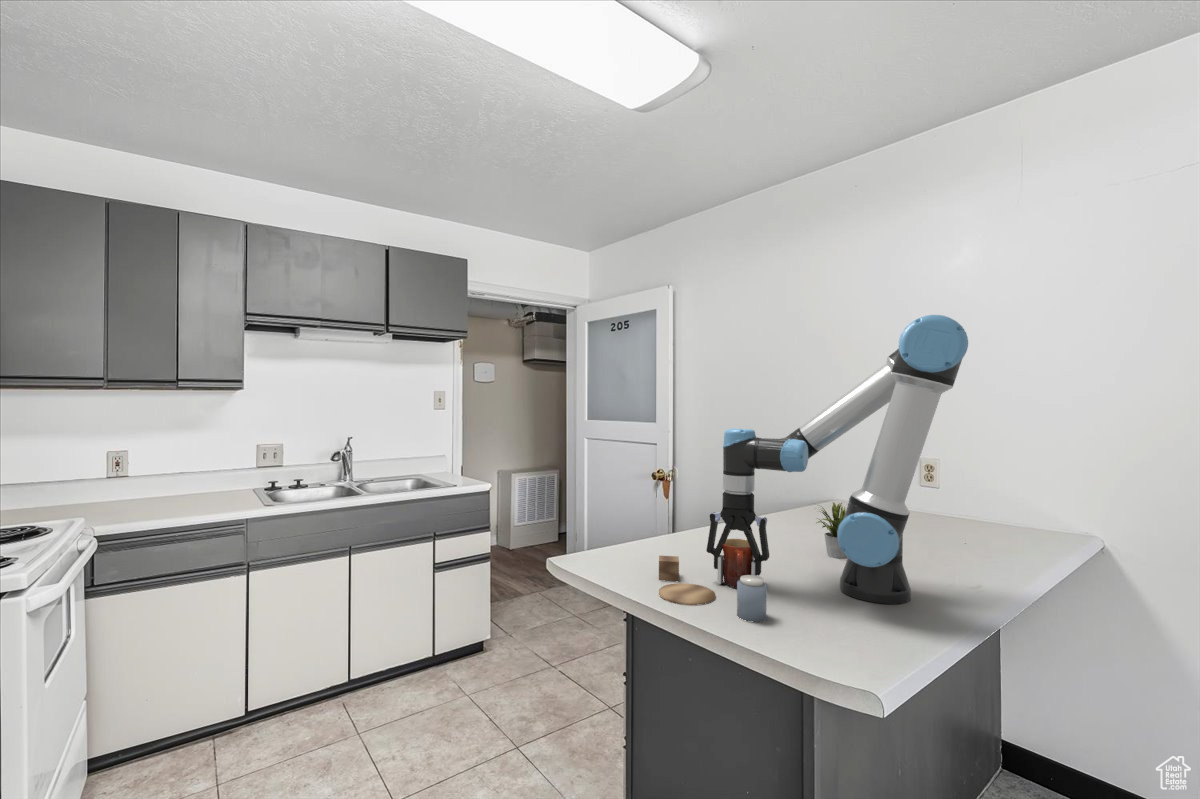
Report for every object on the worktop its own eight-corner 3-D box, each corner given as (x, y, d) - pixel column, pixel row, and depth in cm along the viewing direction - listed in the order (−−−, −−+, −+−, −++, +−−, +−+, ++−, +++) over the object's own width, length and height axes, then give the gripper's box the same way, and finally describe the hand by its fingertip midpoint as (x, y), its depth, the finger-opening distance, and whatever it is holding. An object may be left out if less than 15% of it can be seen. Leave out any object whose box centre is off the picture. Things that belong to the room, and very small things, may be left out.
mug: (720, 577, 142) (720, 537, 142) (755, 580, 141) (755, 539, 141) (720, 593, 131) (721, 549, 131) (759, 596, 129) (759, 552, 129)
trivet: (721, 591, 132) (721, 588, 132) (706, 609, 120) (706, 606, 120) (669, 582, 138) (669, 580, 138) (650, 598, 126) (650, 596, 126)
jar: (768, 614, 118) (769, 576, 118) (763, 624, 112) (764, 584, 113) (740, 609, 121) (740, 572, 121) (733, 618, 115) (734, 580, 115)
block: (678, 575, 144) (678, 556, 144) (678, 581, 139) (678, 561, 139) (658, 574, 144) (659, 555, 144) (658, 580, 139) (658, 560, 139)
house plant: (804, 547, 174) (804, 495, 174) (850, 549, 172) (851, 497, 172) (815, 560, 160) (816, 503, 160) (866, 562, 158) (867, 505, 158)
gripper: (784, 493, 135) (782, 587, 135) (702, 486, 144) (700, 574, 144) (779, 497, 128) (777, 597, 128) (693, 490, 137) (692, 582, 137)
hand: (736, 585), depth 136 cm, fingers closed on mug, 7 cm apart
